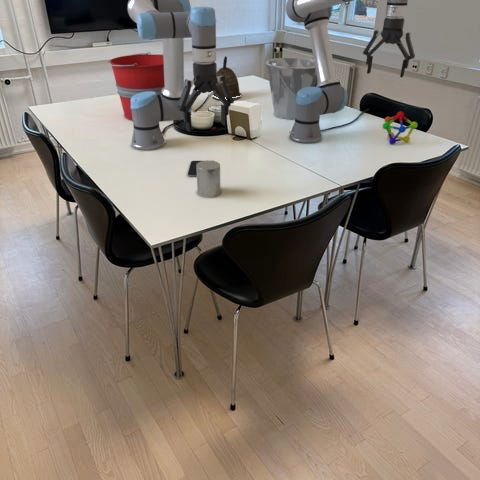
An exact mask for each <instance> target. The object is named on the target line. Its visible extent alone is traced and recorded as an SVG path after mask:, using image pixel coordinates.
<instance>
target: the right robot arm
mask: <svg viewBox="0 0 480 480" xmlns="http://www.w3.org/2000/svg"><path fill="white" fill-rule="evenodd" d="M353 1H354V0H287V1H286V4H285V13H286V15H287V17H288V18H289V20H291V21H292V22H295V23H303V25H304V29H305V30H306V31H308V35H309V40H310V45H311V51H312V56H313V60H314V63H315V69H316V74H317V80H318V84H317V83H316V85H315V87H306V88H302V89H300V90H299V91H298V92H297V97H296V110H295V119H294V122H293V125H292V128H291V130H289V139H290V141H293V142H295V143H298V144H299V143H300V144H316V143H319V142H321V141H322V132H325V131H329V130H334V129H338V128H342V127H345V126H348V125H351V124H353V123H355V122H356V121H357V120H358V119H359V118H360V117H361V116H362V115H363V114H364V113H366V112H368V111H370V108H367V109H364V110H363V111H362V112H361V113H360V114H359V115H357V117H356V118H355V119H353V120H352V121H349V122H347V123H344V124H341V125H335V126H332V127H328V128H324V129H321V126H320V118H321V116H323V115H330V114H334V113H338V112H340V111H341V112H342V110H343V109H344V108H346V105H347V102H348V91H347V89H346V88H345V87H344V86H342V85H341V81H340V80H339V79H337V78H336V70H335V65H334V59H333V53H332V47H331V41H330V35H329V30H328V25H329V23H330V18H331V17H332V15H333V13H332V12H333V10H334V9H333V8H334V7H335V6H338V5H342V4H346V3H348V2H353ZM408 1H409V0H386V7H385V13H384V16H385V18H384V20H383V25H382V30H379V29H376V30H374V31H373V35H372V37H371V39H370V40H369V42H368V44H367V45H366V46H365V48H364V49H363V51H362V54H363V55H365V56H366V60H365V65H366V66H367V70H366V74H367V75H369V74H371V71H372V65H373V60H374V56H373V54H374V53H375V52H376V51H377V50H378V49H379V48H380V47H381V46H382V45H383V44H386V45H387V44H390V45H396V46H397V47H398V49H399V51H400V53H401V54H402V56H403V57H404V59H403V60H402V65H401V70H400V76H399V78H403V77H404V76H405V71H406V69H408V67H409V65H410V64H409V63H410V60H414V59H415V58H416V54H415V51H414V46H413V43H412V40H411V34H412V33H411V31H408V32H404V25H405V17H406V14H407V10H408ZM379 36H381V39H380V41H378V42H377V43H376V44H375V45H374V43H375V42H376V40H377V38H378V37H379ZM402 37H403V38H404V39H405V43H406V46H407V50H408V51H407V50H406V47H405V46H404V44H403V41H402V40H401V39H402ZM373 45H374V47H372V46H373ZM370 49H371V50H370Z"/></svg>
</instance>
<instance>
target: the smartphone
mask: <svg viewBox="0 0 480 480" xmlns="http://www.w3.org/2000/svg"><path fill="white" fill-rule="evenodd" d="M201 161H202V160H191V161H190V164H189V168H188V172H187V176H188V177H197V169H196V165H197V163H199V162H201Z"/></svg>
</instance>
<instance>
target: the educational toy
mask: <svg viewBox="0 0 480 480" xmlns="http://www.w3.org/2000/svg"><path fill="white" fill-rule="evenodd" d="M397 119H399V124H400V125H399V127H398V126H393V125H391V124H392V123H394V122H395V121H396V120H397ZM403 120H404V121H405V122H407V123H408V124H409V125H407V126H404V123H403ZM417 127H418V122H417V121H411V120H410V119H409V118H408V117H406V116H405V113H404V112H403V111H401V110H400V111H398V112H397V114H396V115H394V116H391V117H390V116H386V117H385V118H384V122H383V123H382V129H383V130H386V132H387V138H388V142H389V145H395V144H396V143H397V142H402V141H403V142H404V143H409V142H410V140H411V138H410V136H411V134H412V132H413V131H414V130H415V129H417ZM392 129H393V130H397V131H398V132H396V134H395V133H394V132H392ZM408 129H409V131H408V133H407V134H406V135H404V136H401V134H403V133H405V132H406V130H408ZM399 135H400V136H399Z"/></svg>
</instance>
